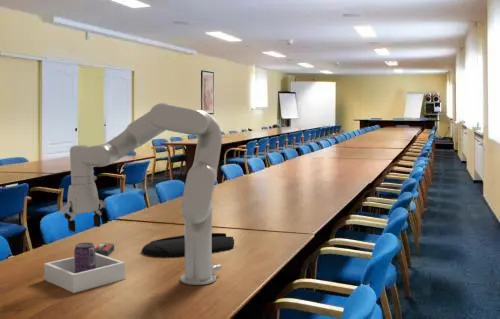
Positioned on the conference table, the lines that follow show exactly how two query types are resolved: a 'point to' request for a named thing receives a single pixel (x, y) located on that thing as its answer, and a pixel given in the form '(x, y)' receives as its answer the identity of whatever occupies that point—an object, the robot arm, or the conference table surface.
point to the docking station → (177, 245)
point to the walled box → (84, 273)
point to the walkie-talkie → (105, 249)
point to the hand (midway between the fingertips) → (84, 228)
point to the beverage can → (84, 257)
